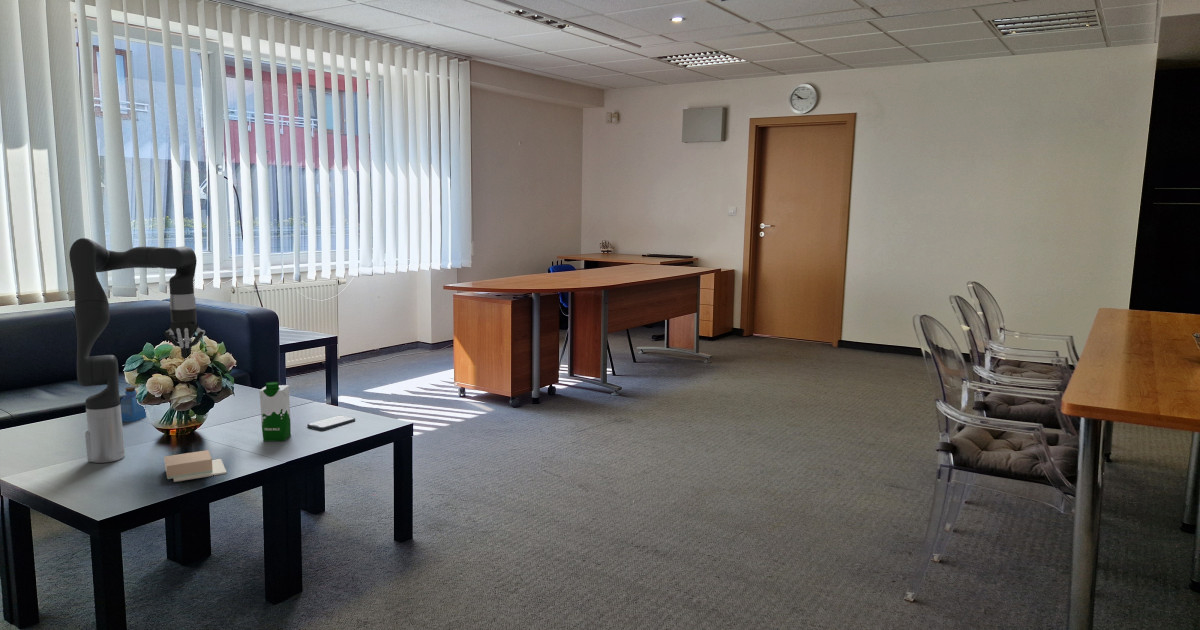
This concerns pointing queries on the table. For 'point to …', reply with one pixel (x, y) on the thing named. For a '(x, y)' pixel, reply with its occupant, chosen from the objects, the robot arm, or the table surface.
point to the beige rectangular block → (188, 464)
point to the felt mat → (217, 470)
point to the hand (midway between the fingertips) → (186, 358)
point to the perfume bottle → (131, 407)
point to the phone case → (330, 423)
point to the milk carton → (275, 412)
